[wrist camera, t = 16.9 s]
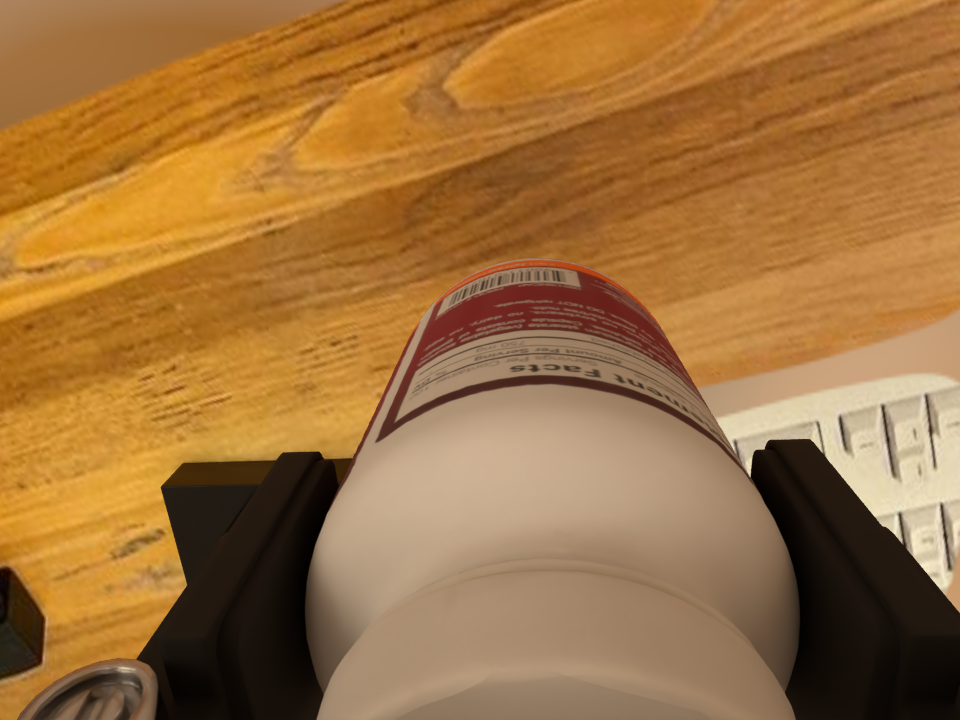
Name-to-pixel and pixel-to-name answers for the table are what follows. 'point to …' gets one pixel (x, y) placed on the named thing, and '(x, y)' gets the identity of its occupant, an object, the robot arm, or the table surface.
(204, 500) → the button box
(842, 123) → the table surface
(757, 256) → the table surface
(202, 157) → the table surface
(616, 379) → the pill bottle
